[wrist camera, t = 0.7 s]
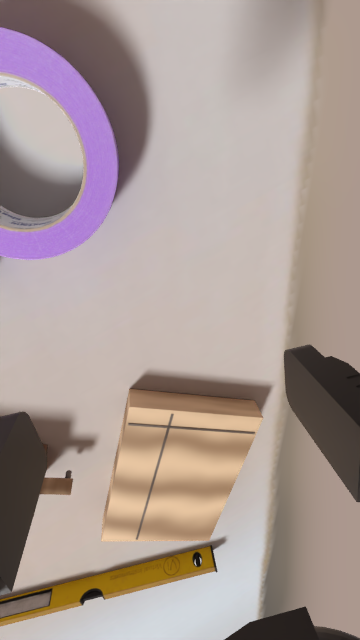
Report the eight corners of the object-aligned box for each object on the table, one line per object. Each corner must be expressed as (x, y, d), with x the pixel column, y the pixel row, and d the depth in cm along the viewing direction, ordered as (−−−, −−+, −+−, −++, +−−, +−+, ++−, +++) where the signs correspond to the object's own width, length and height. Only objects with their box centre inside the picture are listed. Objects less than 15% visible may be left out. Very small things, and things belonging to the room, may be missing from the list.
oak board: (129, 388, 31) (129, 407, 29) (254, 400, 34) (263, 418, 32) (102, 519, 40) (101, 541, 37) (204, 520, 43) (209, 540, 40)
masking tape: (152, 134, 22) (156, 131, 19) (70, 273, 26) (61, 292, 22) (-29, -10, 18) (-66, -47, 14) (-97, 181, 21) (-139, 187, 18)
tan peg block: (-65, 437, 31) (-97, 485, 27) (78, 445, 34) (70, 489, 29) (-61, 467, 33) (-91, 516, 28) (74, 472, 36) (66, 517, 31)
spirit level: (211, 543, 46) (216, 567, 43) (212, 548, 46) (217, 572, 44) (-28, 603, 45) (-38, 632, 42) (-24, 608, 45) (-33, 636, 43)
